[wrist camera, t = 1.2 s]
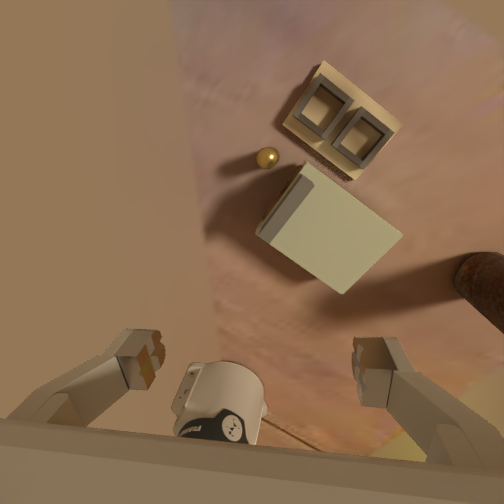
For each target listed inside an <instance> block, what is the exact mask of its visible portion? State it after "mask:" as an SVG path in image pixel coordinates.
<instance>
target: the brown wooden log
mask: <svg viewBox="0 0 504 504" xmlns="http://www.w3.org/2000/svg"><path fill="white" fill-rule="evenodd" d="M454 286H455V288H456V290H457V291H458V292H459V294H460V295H461V296H463V297H464V298H465V299H466V300H467V301H468V302H469V303H470V304H471V305H472V306H473V307H474V308H476V309H477V310H478V311H479V312H480V313H481V314H482V315H483V316H484V317H486V318H487V319H488V320H489V321H490V322H491V323H492V324H493V325H494V326H495V327H497V328H498V329H499V330H500V331H501V332H502V333H503V334H504V255H502V254H500V253H497V252H488V253H478V254H476V255H474V256H472V257H470V258H468V259H467V261H465V262H464V263H463V264H462V266H461V268H460V270H459V271H458V273H457V275H456V277H455V279H454Z"/></svg>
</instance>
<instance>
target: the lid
mask: <svg viewBox="0 0 504 504" xmlns="http://www.w3.org/2000/svg"><path fill="white" fill-rule="evenodd" d="M302 165H303V168H302V169H301V171H300V172H299V173H298V175H297V176H296V178H295V179H294V180H293V182H292V183H291V184H290V186H289V187H288V188H287V190H286V191H285V192H284V194H283V195H282V197H281V198H280V199H279V201H278V202H277V203H276V205H275V206H274V207H273V209H272V210H271V212H270V213H269V214H268V216H267V217H266V218H265V220H264V221H262V220H261V221H260V223H259V224H258V227H257V229H256V231H255V234H256V235H257V236H258V237H259V238H261V239H262V240H264V241H265V242H267V243H268V244H270V245H271V246H273V247H274V248H276V249H277V250H278V251H280V252H281V253H283V254H284V255H286V256H287V257H288V258H290V259H291V260H293V261H294V262H296V263H297V264H298V265H300V266H301V267H303V268H304V269H306V270H307V271H308V272H310V273H311V274H313V275H314V276H316V277H317V278H318V279H320V280H321V281H323V282H324V283H326V284H327V285H328V286H330V287H331V288H333V289H334V290H336V291H337V292H338V293H340V294H344V293H345V292H346V291H347V290H348V289H349V288H350V287H351V286H352V285H353V284H354V283H355V282H356V281H357V280H358V279H359V278H360V277H361V276H362V275H363V274H364V273H365V272H366V271H367V270H369V269H370V268H371V267H372V266H373V265H374V264H375V263H376V262H377V261H378V260H379V259H380V258H381V257H382V256H383V255H384V254H385V253H386V252H387V251H388V250H389V249H390V248H391V247H392V246H393V245H394V244H395V243H396V242H397V241H398V240H399V239H400V238H401V237H403V236H404V235H403V234H402V233H400V232H399V231H398V230H397V229H395V228H394V227H393V226H392V225H391V224H389V223H388V222H387V221H385V220H384V219H383V218H381V217H380V216H379V215H377V214H376V213H375V212H373V211H372V210H371V209H369V208H368V207H367V206H365V205H364V204H363V203H361V202H360V201H359V200H357V199H356V198H355V197H353V196H352V195H351V194H349V193H348V192H347V191H345V190H344V189H343V188H341V187H340V186H339V185H338V184H336V183H335V182H334V181H332V180H331V179H330V178H328V177H327V176H326V175H324V174H323V173H322V172H320V171H319V170H318V169H316V168H315V167H314V166H312V165H311V164H310V163H308V162H307V161H306V160H305V161H304V162H303V164H302Z"/></svg>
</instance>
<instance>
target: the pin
mask: <svg viewBox="0 0 504 504" xmlns="http://www.w3.org/2000/svg"><path fill="white" fill-rule="evenodd" d="M279 157H280V156H279V152H278V150H277V149H275V148H273V147H266V148H262V149H261V150H260V151H259V152H258V154H257V157H256V160H257V164H258V165H259V166H260V167H261V168H262V169H271V168H272V167H274V166H275V165H276V163H277V162H278V161H279Z"/></svg>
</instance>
